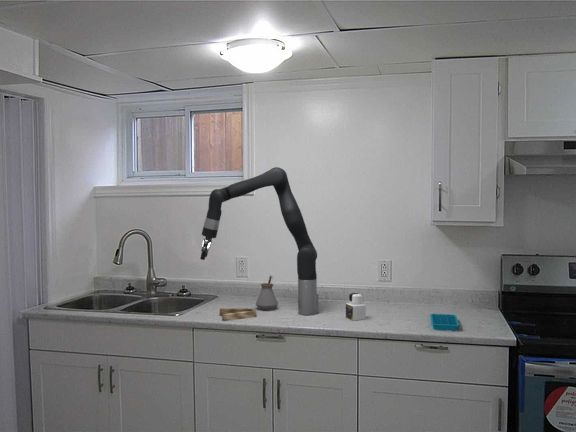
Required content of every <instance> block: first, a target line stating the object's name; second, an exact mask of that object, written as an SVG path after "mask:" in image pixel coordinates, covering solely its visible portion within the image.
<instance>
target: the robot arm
mask: <svg viewBox="0 0 576 432" xmlns="http://www.w3.org/2000/svg"><path fill="white" fill-rule="evenodd" d="M266 187H273V189H274V190H275V192H276V195H277V197H278V202H279V209H280V212H281V215H282V218H283V222H284V223H285V225H286V228H287V230H288V231H289V233H290V234H291V236H292V237H293V239H294V241H295V243H296V247H297V250H298V252H297V255H296V269H297V270H296V271H297V278H298V279H297V304H298V305H297V307H298V308H297V314H298V315H301V316H312V315H317V314H319V294H318V290H317V287H318V284H317V283H318V281H317V279H318V278H317V268H316V267H317V265H316V264H317V262H316V260H317V258H318V251H317V249H316V248H315V246H314V244H313V242H312V240H311V238H310V235H309V232H308V229H307V226H306V223H305V219H304V218H303V214H302V211H301V209H300V207H299V205H298V202H297V199H295V196H294V194H293V192H292V190H291V185H290V181H289V178H288V174H287V172H286V171H285V170H284V169H283V168H282V167H279V166H275V167H272V168H271V169H269V170H267V171H265V172H263V173H261V174H259V175H256V176H254V177H251V178H248V179H244V180H241V181H238V182H234V183H232V184H229V185H228V186H226V187H221V188H218V189H217V188H216V189H214V190H212V191H211V192H210V195H209V198H208V209H207V212H206V217H205V220H204V223H203V226H202V231H201V236H202V237H205V238H204V239H203V241H202V247H201V254H200V258H199V259H200V260H201V261H202V260H203V261H205V258H207V257H208V254H209V250H210V248H211V247H212V246H211V245H212V242H213V240H212V239H216V238H217V235H218V231H219V227H220V221H221V217H222V205H223V203H225V202H227V201H229V200H232V199H236V198H239V197H243V196H245V195H248V194H250V193H252V192H255V191H257V190H258V189H262V188H266Z"/></svg>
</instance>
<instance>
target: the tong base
mask: <svg viewBox="0 0 576 432" xmlns="http://www.w3.org/2000/svg"><path fill="white" fill-rule="evenodd" d="M251 309H252V311H244V312H236V313H229V314H222V315H221V320H222V321H223V322H226V321H233V320H243V319H249V318H256V317H257V308H251Z"/></svg>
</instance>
